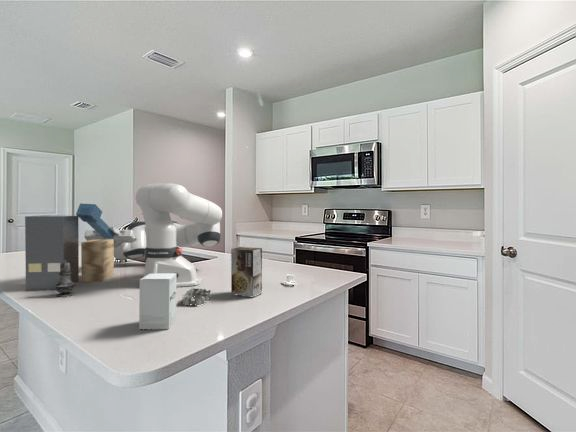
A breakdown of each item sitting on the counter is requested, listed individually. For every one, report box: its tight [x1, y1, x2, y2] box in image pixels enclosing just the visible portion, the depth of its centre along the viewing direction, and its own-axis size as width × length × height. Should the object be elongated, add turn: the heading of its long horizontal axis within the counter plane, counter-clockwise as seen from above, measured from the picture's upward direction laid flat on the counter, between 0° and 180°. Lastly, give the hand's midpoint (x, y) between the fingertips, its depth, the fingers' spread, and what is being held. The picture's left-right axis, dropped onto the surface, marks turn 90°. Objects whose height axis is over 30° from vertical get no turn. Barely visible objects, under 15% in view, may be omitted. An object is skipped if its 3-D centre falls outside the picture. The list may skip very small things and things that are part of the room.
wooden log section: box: [80, 239, 115, 283], centre depth 135 cm, size 8×12×16 cm, turn 11°
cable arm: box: [75, 203, 115, 239], centre depth 138 cm, size 6×22×5 cm, turn 1°
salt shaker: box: [55, 260, 77, 298], centre depth 110 cm, size 6×6×12 cm
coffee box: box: [230, 246, 263, 297], centre depth 114 cm, size 9×6×16 cm
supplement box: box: [138, 273, 177, 331], centre depth 84 cm, size 7×7×13 cm
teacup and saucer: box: [285, 273, 296, 286], centre depth 130 cm, size 9×8×4 cm
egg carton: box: [181, 287, 212, 306], centre depth 105 cm, size 10×7×4 cm
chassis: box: [24, 214, 80, 292], centre depth 121 cm, size 12×12×26 cm
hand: (105, 228), depth 143 cm, fingers closed on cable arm, 4 cm apart
